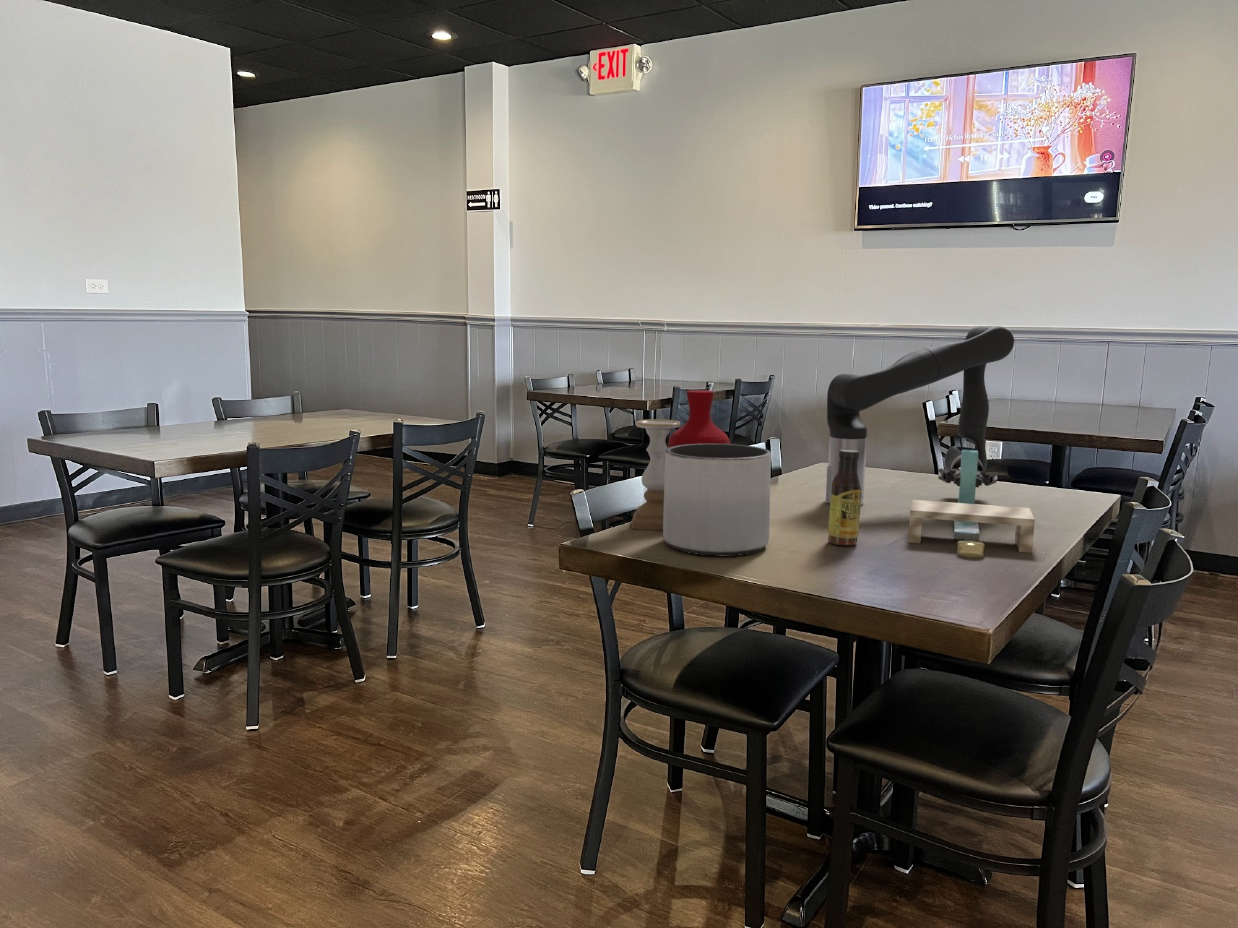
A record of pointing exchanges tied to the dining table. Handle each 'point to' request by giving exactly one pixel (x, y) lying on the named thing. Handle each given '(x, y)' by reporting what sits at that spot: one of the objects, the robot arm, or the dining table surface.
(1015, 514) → the plinth shelf
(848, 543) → the sauce bottle
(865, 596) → the dining table surface
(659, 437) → the candle holder
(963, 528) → the bar
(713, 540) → the planter
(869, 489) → the dining table surface
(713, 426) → the vase
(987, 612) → the dining table surface
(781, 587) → the dining table surface
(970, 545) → the block
